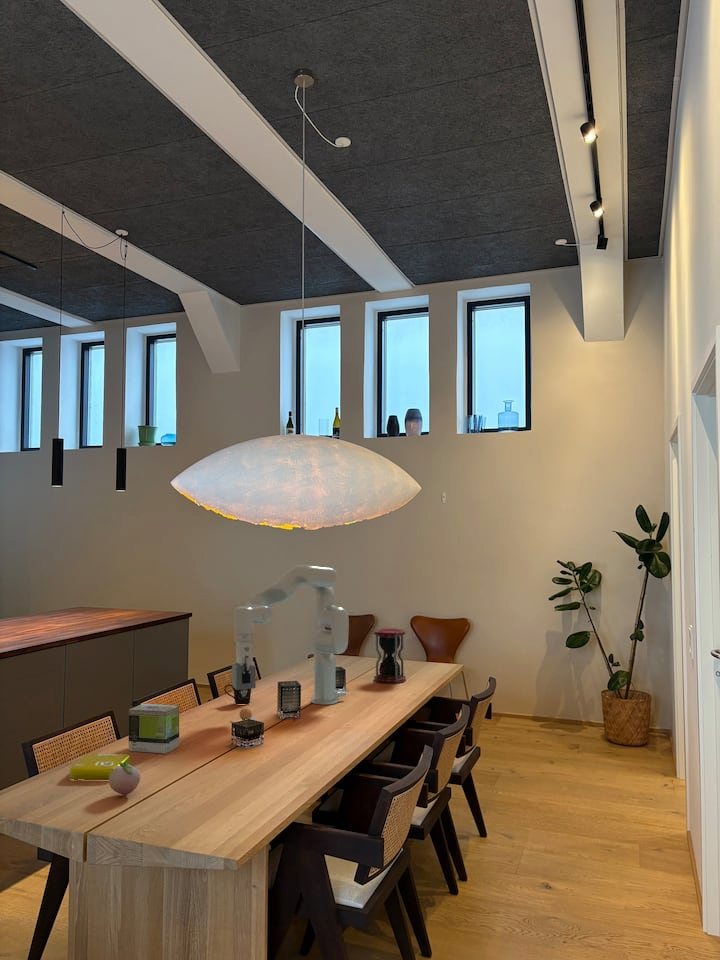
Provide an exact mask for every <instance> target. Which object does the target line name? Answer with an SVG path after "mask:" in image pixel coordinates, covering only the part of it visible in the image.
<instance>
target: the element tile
mask: <svg viewBox="0 0 720 960" xmlns="http://www.w3.org/2000/svg"><path fill="white" fill-rule="evenodd" d="M130 757H131V756H130V754H127V753H126V754H125V753H87V754H86V755H84V756H82V758H80V759H79V760H77V761H76V762H75V763H74V764H73V765H71V766H70V767H69V780H70V779H74V780H78V779H84V780H109V775H110V773H111V771H112V770H113V769H114V768H116V767H117V766H119V763H123V762H125V761H126V763H127V764H128V765H131V764H130V760H131V759H130Z"/></svg>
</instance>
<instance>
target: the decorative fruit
mask: <svg viewBox="0 0 720 960" xmlns="http://www.w3.org/2000/svg"><path fill="white" fill-rule="evenodd" d="M140 781H141V773H140V772H139V770H138V768H136V767H135V766H132V765H131V764H130V765H128V764H127V763H126V761H125V762H123V763H119V766H117V767H116V768H114V769H113V770H112V771H111V773H110V775H109V781H108V783H109V784H108V785H109V787H110V788H111V790H113V792H116V793H118V794H119V795H122V796H124V795H126V796H128V795H130V794H131V793H133V792H134V791H135V790H136V789H137V787H138V785H139V783H140Z"/></svg>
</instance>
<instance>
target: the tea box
mask: <svg viewBox="0 0 720 960" xmlns="http://www.w3.org/2000/svg"><path fill="white" fill-rule="evenodd" d="M179 746H180V705H179V704H160V703H157V704H156V703H141V704H139V705H137V706H135V707H132V708H130V709H128V751H130V752H141V753H151V754H152V753H154V754H168V753H170V752H172V751H173V750H175V749H177V748H178V747H179Z"/></svg>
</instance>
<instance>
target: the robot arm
mask: <svg viewBox="0 0 720 960" xmlns="http://www.w3.org/2000/svg"><path fill="white" fill-rule="evenodd" d="M338 581H339V575H338V572H337V571H336V570H335V569H334V568H331V567H321V566H314V565H304V564H295V565H294V566H292V567H290V569H288V571H287V572H286V573H284V574H283V575H282V576H281V577H280V578H279V579H278V580H277V581H276V582H275V583H274V584H273V585H271V586H269V587H267V588H265V589H263V590H262V591H259V592H258V593H256V594H255V595H253V597H251V598H250V599H249V600H248V601H247V602H246V604H245V605H244V606H243V605H242V606H237V607H235V609H234V611H233V612H234V613H233V615H234V622H233V623H234V624H233V625H234V627H233V629H234V633H233V635H234V636H233V637H234V642H235V643H236V644H235V645H236V646H235V648H236V651H235V661H236V664H238V665H240V666H241V667H243V673H242V683H243V684H246V683H250V665H251V666H253V665H254V662H253V659H254V657H253V653H254V652H253V643H252V642H253V641H254V624H260V625H261V624H263V625H265V624H266V623H269V622H270V621H271V619H273V610H272V609H271V607H269V606H272V605H273V604H274V605H275V604H277V603H281V602H285V601H287V600H288V599H289V598H290V597H292V596H293V594H294V593H295V592H297V590H298V589H300V587H301V586H311V587H312V588H313V590H314V593H315V598H316V603H315V604H316V605H315V607H316V608H315V621H316V623H317V624H318V626H320V627H323V628H330V629H331V630H329V629H319V630H316V631H315V632H314V634H313V636H312V638H311V646H312V649H313V651H312V652H313V658H314V660H313V661H314V662H313V663H314V665H313V666H314V667H313V672H314V676H313V677H314V680H313V682H314V683H313V684H314V685H313V687H314V688H313V690H314V691H313V692H314V693H313V697H311V698H310V703H312V704H315V705H322V706H323V705H325V706H326V705H334V704H338V703H339V702H340V697H346V696H347V691H341V690H339V691H338V690H336V687H337V685H336V684H337V682H336V669H337V668H336V664H337V663H336V657H335V655H340V654H343V653H345V651H346V650H347V649H348V645H349V633H350V632H349V630H350V629H349V628H350V625H349V622H350V621H349V620H350V619H349V614H348V612H347V610H346V609H345V608H343V607H340V606H336V593H335V589H334V586H336V584H337V583H338ZM244 667H246V668H245V669H244Z"/></svg>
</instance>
